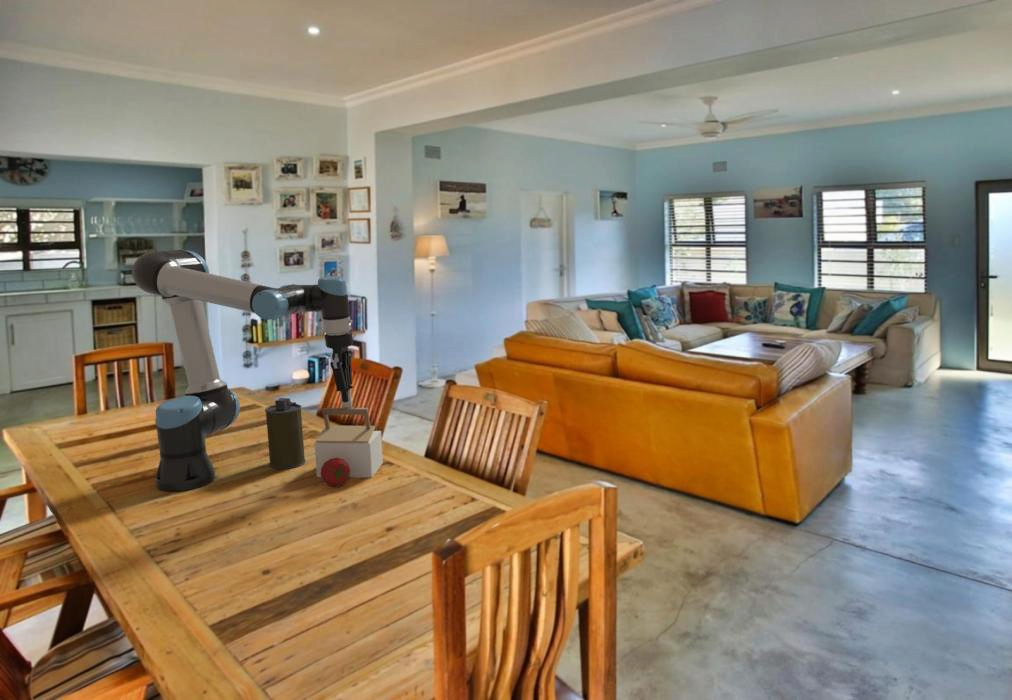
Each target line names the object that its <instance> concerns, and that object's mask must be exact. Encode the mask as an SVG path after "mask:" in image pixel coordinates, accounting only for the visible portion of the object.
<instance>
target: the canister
mask: <svg viewBox="0 0 1012 700" xmlns="http://www.w3.org/2000/svg"><path fill="white" fill-rule="evenodd" d="M302 407H303V406H302V405H301V404H298V403H297V402H293V401H291V398H288V397H287V398H286V397H279V398H278V399H276V400H275V401H274V404H273V405H269V406H268V407H266V408H265V409H264V412H265V416H266V429H267V430H266V432H267V440H268V453H269V467H270V468H272V469H276V470H288V469H293V468H297V467H299V466H302V465H305V463H306V457H305V446H304V445H305V444H304V434H303V433H304V431H303V419H302V418H303V417H302V416H303V415H302Z"/></svg>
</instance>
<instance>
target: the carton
mask: <svg viewBox="0 0 1012 700" xmlns="http://www.w3.org/2000/svg"><path fill="white" fill-rule="evenodd" d="M382 440H383V437H382V430H374V431H373V434H372V436H371V438H370V440H369V443H326V442H316V441H315V442H314V450H315V451H314V452H315V453H314V455H315V468H316V477H321V468H322V466H323V464H324V463H325V462H326V461H328V460H329V459H332V458H341V459H343V460H344V461H346V462H347V463H348V466H349V469H350V474H349V478H373V477H374V475H375V474H376V472H377V471H378V470H379V468H380V467H381V466H382V464H384V462H383V441H382ZM321 478H322V477H321Z"/></svg>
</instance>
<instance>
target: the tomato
mask: <svg viewBox="0 0 1012 700" xmlns="http://www.w3.org/2000/svg"><path fill="white" fill-rule="evenodd" d="M349 474H350V469H349V466H348V463H347V462H346V461H344V460H343V459H341V458H332V459H329V460H328V461H326V462H325V463H324V464H323V466H322V468H321V479H322V481H323V482H324V484H326V485H327V486H328V487H333V488H336V487H340V486H342V485H343V484H345V483H346V482H347V481H348V479H349V478H350V477H349Z"/></svg>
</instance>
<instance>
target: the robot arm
mask: <svg viewBox="0 0 1012 700" xmlns="http://www.w3.org/2000/svg"><path fill="white" fill-rule="evenodd" d="M131 274H132V278H133V281H134V283H135V284H136V286H137V287H138V288H140V290H142V291H143V292H146V293H148V294H150V295H151V294H152V295H156V296H161V299H162V302H164V303H166V304H167V305H169V308H170V311H171V312H170V313H171V316H172V320H173V325H174V328H175V333H176V337H177V341H178V346H179V348H180V349H179V350H180V353H181V357H182V362H183V365H184V371H185V374H186V377H187V382H188V387H187V388H186V390H185V391H184V394H185V395H184V396H183V395H182V396H178V397H174V398H169V399H166V400H165V401H162V402H161V403H160V404H158V406H157V407H156V409H155V420H154V422H155V425H156V426H155V427H156V434H157V441H158V448H159V455H160V456H159V457H160V459H159V464H158V467H157V471H156V476H155V485H156V488H157V489H158V490H160V491H163V492H183V491H189V490H194V489H197V488H201V487H203V486H206V485H208V484H210V483H212V482H214V480H215V479H216V469H215V467H214V465H213V463H212V462H211V459H210V457H209V455H208V453H207V446H206V438H207V437H208V436H211V435H213V434H215V433H217V432H219V431H223V430H225V429H227V428H228V427H229V426H231V425H232V424H233V423H235V421H236V420H237V419H238V417H239V414H240V411H241V404H240V400H239V397H238V395H237V394H236V393H234V392H233V390H231V389H229V387H228V384H227V382H226V381H225V380H222V378H220V377H221V376H220V374H219V369H218V365H217V360H216V356H215V351H214V348H213V347H214V346H213V343H212V340H211V334H210V329H209V326H208V322H207V317H206V313H205V309H204V304H203V302H205V303H209V304H214V305H219V306H222V307H227V308H231V309H235V310H241V311H244V312H249V313H252V314H253V313H254V314H255V315H256V316H257V317H259V318H261V319H263V320H278V319H280V318H283V317H287V316H291V315H295V314H300V313H309V312H310V313H313V312H316V313H318V312H321V316H322V317H321V319H322V326H323V327H322V328H323V332H324V341H325V346H326V347H327V349H332V354H331V358H332V361H330V367H331V370H332V374H333V378H334V379H333V380H334V381H335V382H334V383H335V386H336V392H339V393H340V400H341V408H354V407H353V401H352V391H351V390H352V389H354V386H353V374H352V373H353V372H352V368H353V367H352V353H353V352H352V350H349V347H352V345H354V340H353V337H354V336H353V332H352V331H351V330H352V323H353V320H352V319H351V313H350V304H349V303H350V302H349V291H348V288H347V287H348V286H347V281H346V279H345V277H343V276H340V275H331V276H330V275H329V276H328V275H327V276H323V277H320V278H318V279H317V284H294V283H293V284H287V285H285V284H284V285H282V286H280V287H278V288H277V287H271V286H268V285H261V284H259V283H253V282H249V281H244V280H239V279H236V278H230V277H227V276H221V275H219V274H217V275H216V274H212V273H210V269H209V266H208V263H207V262H206V261H205V259H204V258H203V257H202V256H201V255H200V254H198V253H197V252H194V251H193V250H187V249H175V250H174V249H173V250H161V251H157V250H155V251H148V252H146V253H144V254H142V255H140V256H139V257H137V259H136V260H135V261H134V263H133V265H132V273H131Z"/></svg>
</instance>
